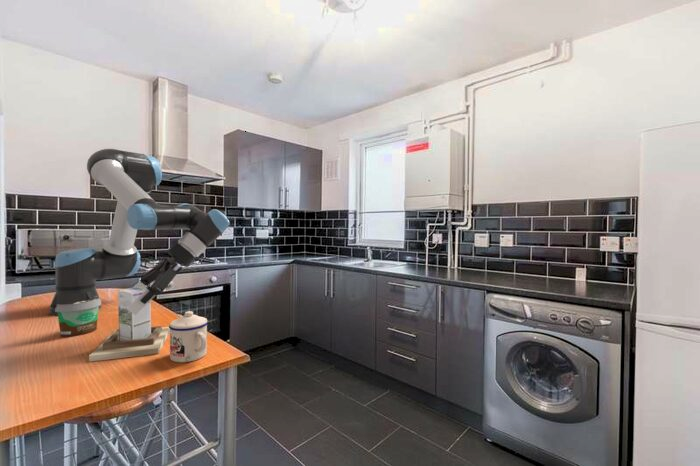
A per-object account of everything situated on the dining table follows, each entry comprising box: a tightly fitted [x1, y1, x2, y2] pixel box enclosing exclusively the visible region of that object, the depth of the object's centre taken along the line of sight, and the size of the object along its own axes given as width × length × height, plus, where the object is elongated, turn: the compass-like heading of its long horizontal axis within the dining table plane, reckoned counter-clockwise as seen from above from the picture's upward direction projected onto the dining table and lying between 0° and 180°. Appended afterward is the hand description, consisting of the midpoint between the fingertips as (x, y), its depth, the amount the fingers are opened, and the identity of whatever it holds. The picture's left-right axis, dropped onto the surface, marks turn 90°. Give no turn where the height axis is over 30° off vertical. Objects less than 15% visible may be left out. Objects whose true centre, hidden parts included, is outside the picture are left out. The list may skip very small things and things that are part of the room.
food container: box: [55, 296, 102, 338], centre depth 99 cm, size 12×6×10 cm, turn 168°
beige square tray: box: [88, 325, 170, 362], centre depth 90 cm, size 18×15×3 cm
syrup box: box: [117, 286, 152, 341], centre depth 90 cm, size 6×6×14 cm
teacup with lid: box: [168, 310, 209, 363], centre depth 83 cm, size 12×9×12 cm
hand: (127, 306), depth 89 cm, fingers open, 13 cm apart
